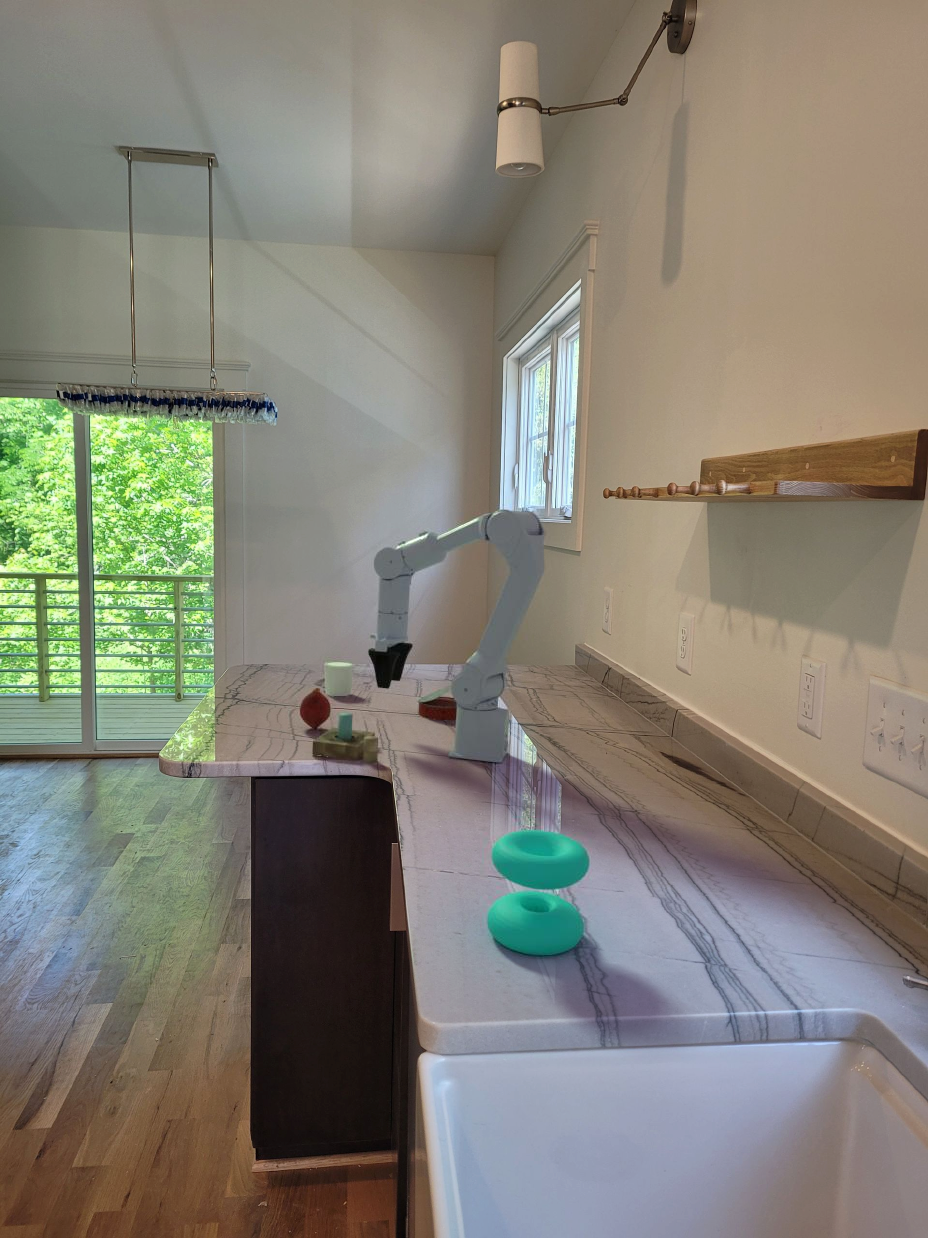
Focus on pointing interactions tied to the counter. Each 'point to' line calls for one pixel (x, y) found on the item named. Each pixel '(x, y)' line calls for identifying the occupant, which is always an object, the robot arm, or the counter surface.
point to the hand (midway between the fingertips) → (389, 684)
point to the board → (340, 745)
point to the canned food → (438, 706)
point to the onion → (315, 708)
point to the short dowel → (370, 749)
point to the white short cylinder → (338, 678)
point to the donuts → (537, 892)
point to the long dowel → (345, 726)
